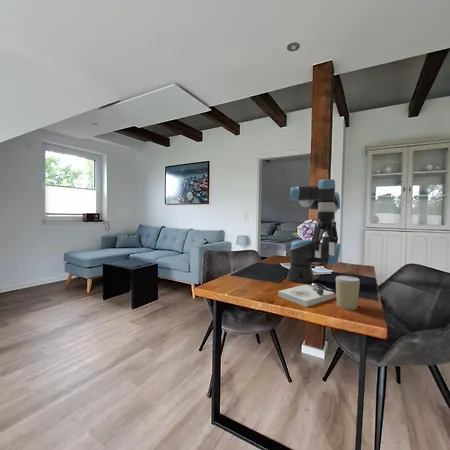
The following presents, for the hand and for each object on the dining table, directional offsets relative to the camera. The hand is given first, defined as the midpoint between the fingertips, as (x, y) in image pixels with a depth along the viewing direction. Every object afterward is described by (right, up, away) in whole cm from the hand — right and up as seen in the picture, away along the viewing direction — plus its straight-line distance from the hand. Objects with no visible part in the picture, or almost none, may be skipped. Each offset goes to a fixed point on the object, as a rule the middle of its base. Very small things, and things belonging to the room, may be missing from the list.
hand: (324, 256), depth 126 cm
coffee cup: (+2, -19, -18) cm, 26 cm away
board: (-12, -18, -7) cm, 23 cm away
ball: (-6, -14, -11) cm, 19 cm away
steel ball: (-7, -14, -4) cm, 16 cm away
